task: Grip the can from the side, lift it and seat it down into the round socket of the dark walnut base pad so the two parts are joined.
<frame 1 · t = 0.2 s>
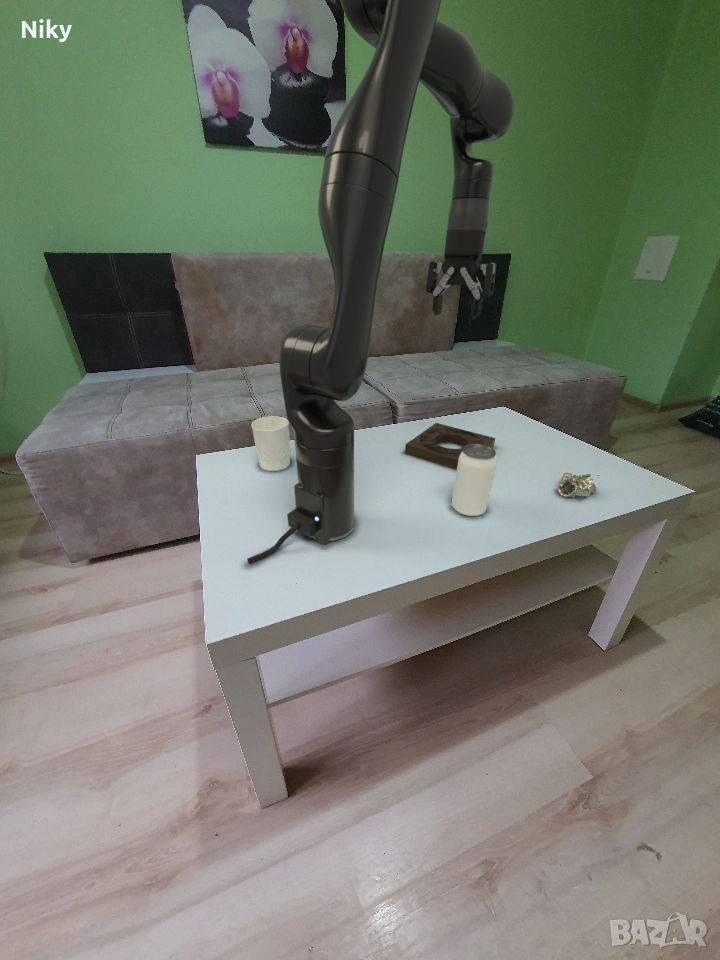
hand: (455, 316, 84), 29 cm above the table, tool pointing down, fingers open, 8 cm apart
can: (468, 508, 73), on the table
white cup: (275, 464, 87), on the table
ornament: (573, 492, 78), on the table
base pad: (449, 450, 94), on the table
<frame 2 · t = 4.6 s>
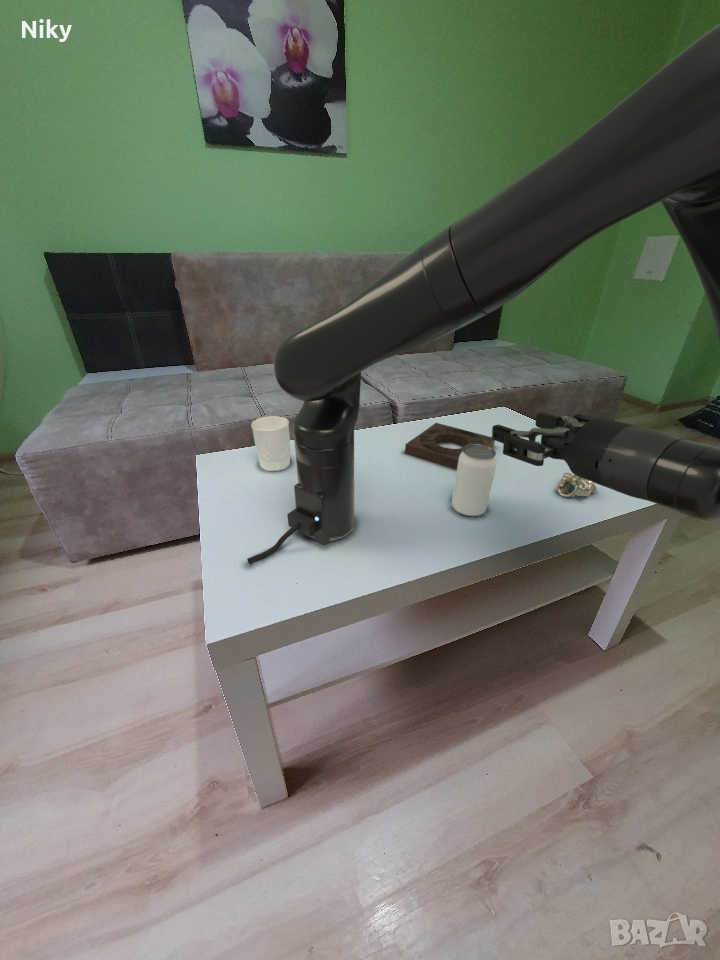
hand: (516, 425, 57), 20 cm above the table, tool horizontal, fingers open, 8 cm apart
nothing on the table moved.
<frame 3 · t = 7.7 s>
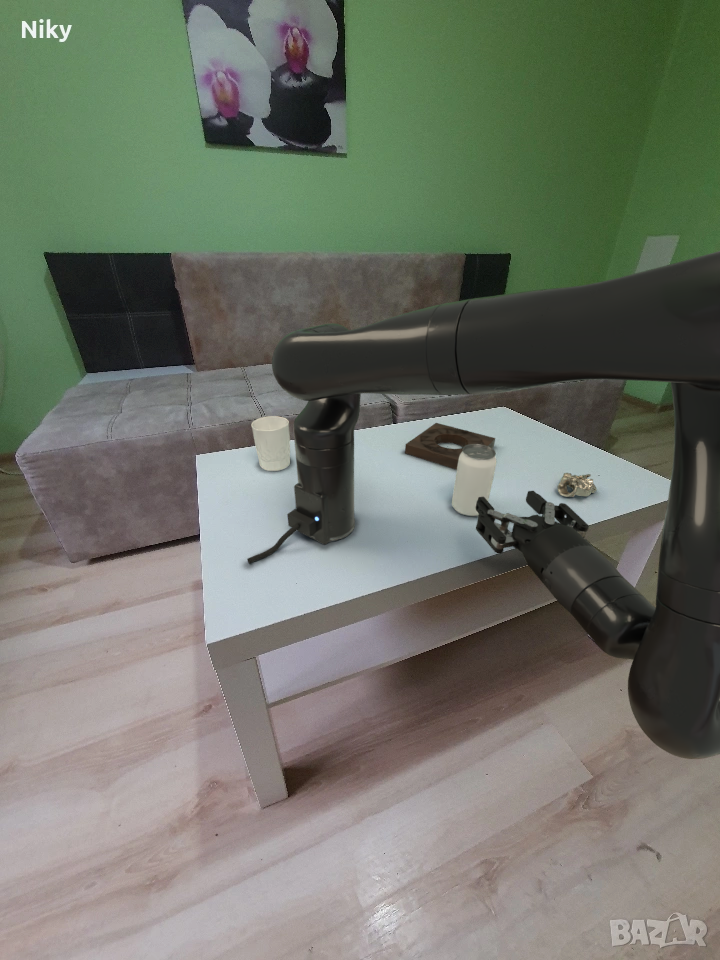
hand: (504, 498, 61), 8 cm above the table, tool horizontal, fingers open, 8 cm apart
nothing on the table moved.
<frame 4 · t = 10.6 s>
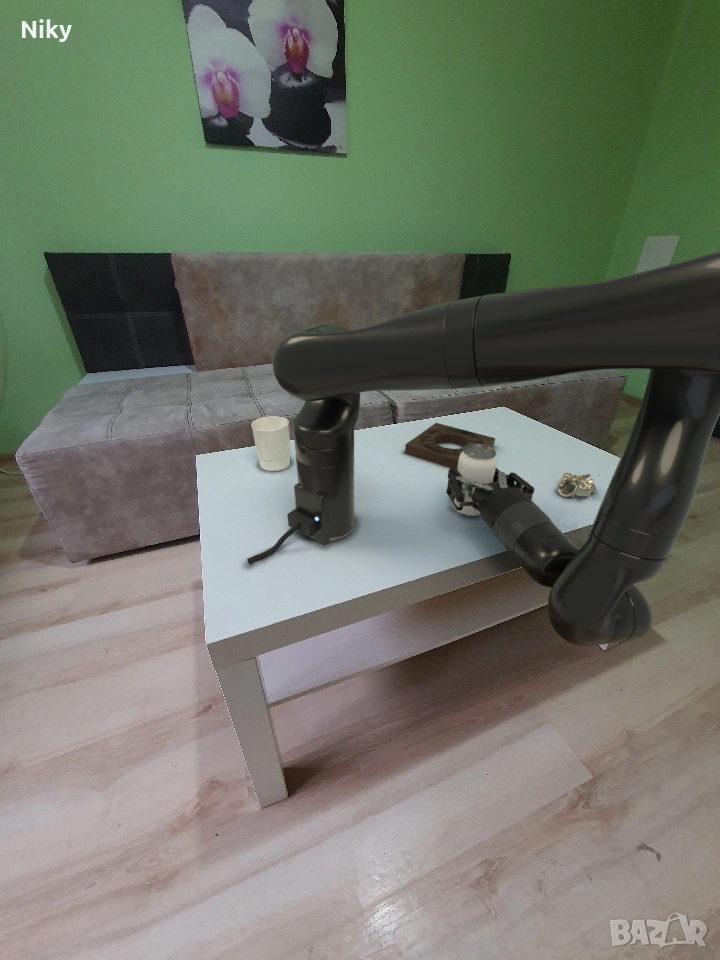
hand: (468, 469, 72), 7 cm above the table, tool horizontal, fingers closed on can, 6 cm apart
can: (468, 508, 73), on the table, touching gripper
everything else where it was.
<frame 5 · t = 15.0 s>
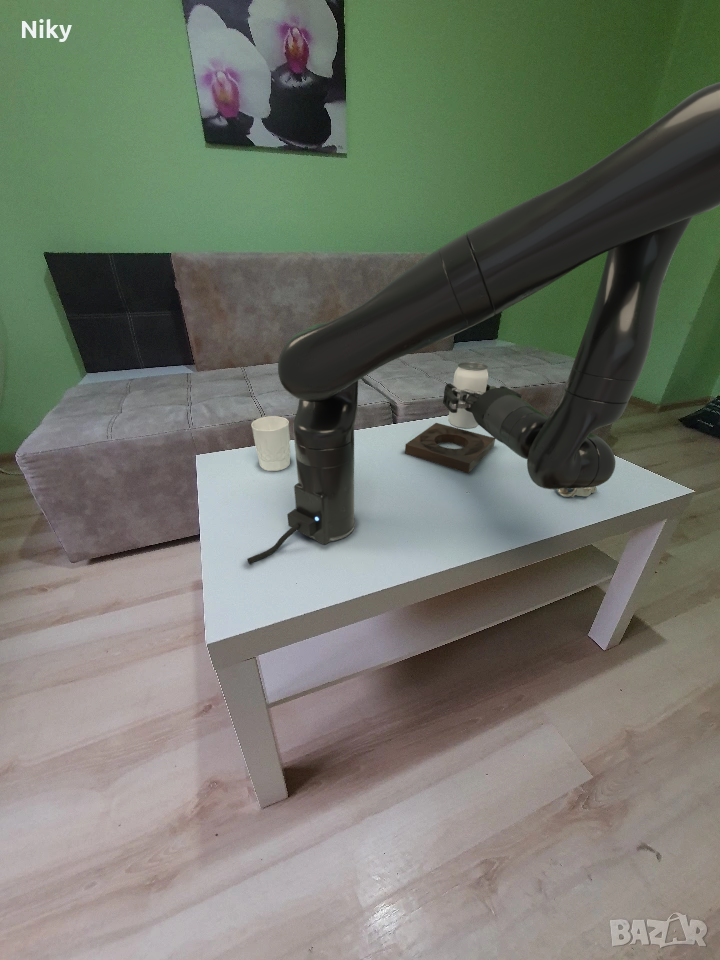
hand: (463, 387, 79), 18 cm above the table, tool horizontal, fingers closed on can, 6 cm apart
can: (463, 424, 81), point 10 cm above the table, touching gripper
everything else where it was.
when the fingers open (7 cm above the table, at t = 19.6 s): can stays where it is, resting in base pad.
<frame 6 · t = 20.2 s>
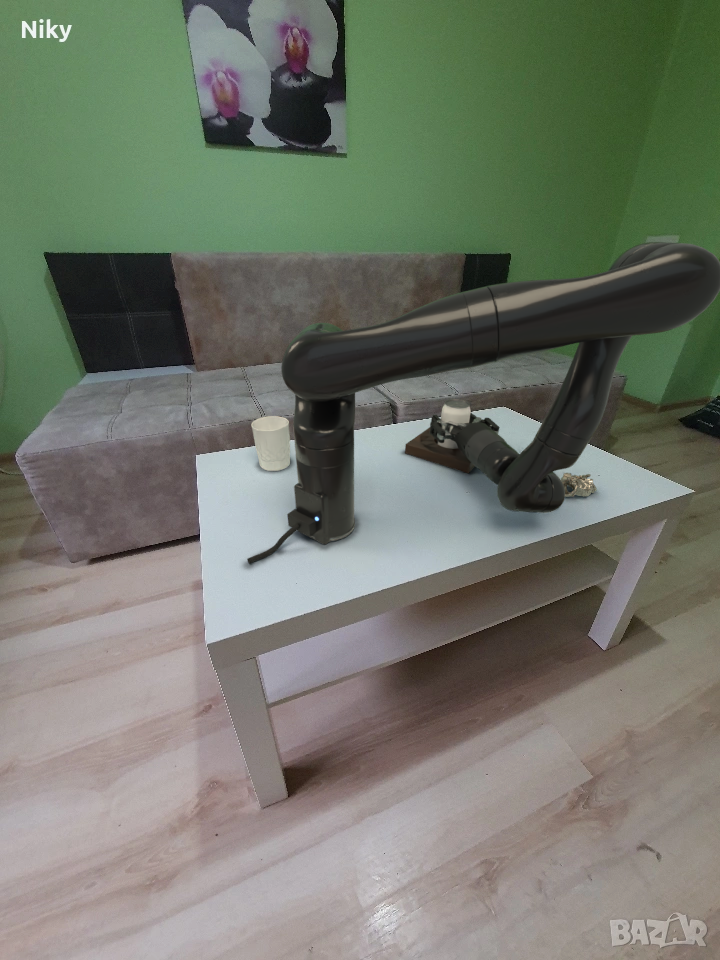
hand: (450, 417, 91), 8 cm above the table, tool horizontal, fingers open, 8 cm apart
can: (450, 451, 94), resting in base pad
everything else where it was.
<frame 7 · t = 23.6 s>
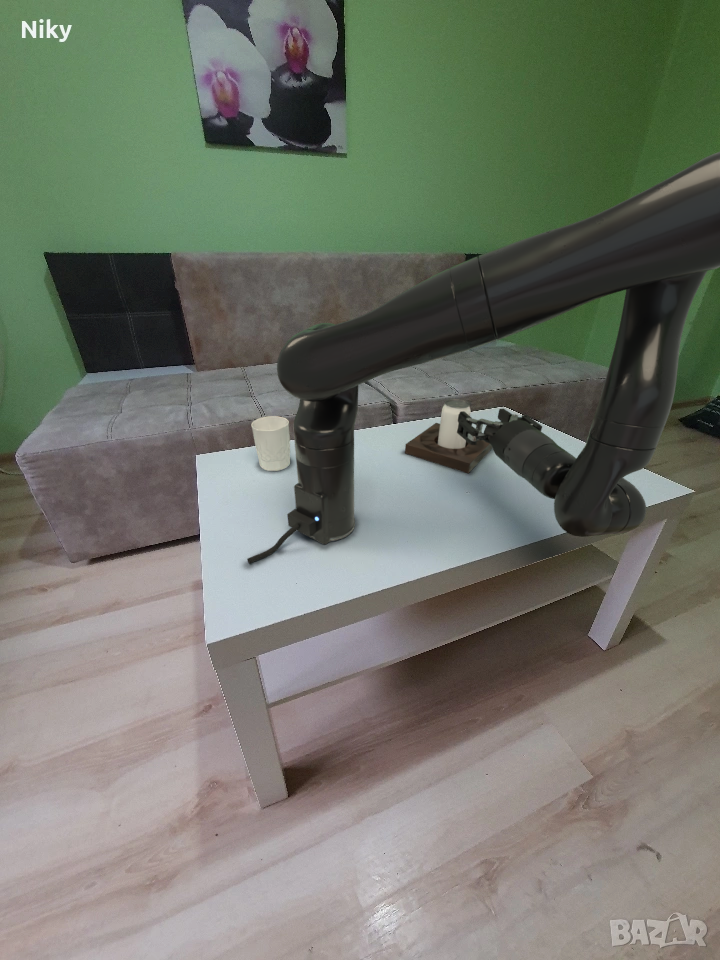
hand: (480, 414, 77), 14 cm above the table, tool horizontal, fingers open, 8 cm apart
nothing on the table moved.
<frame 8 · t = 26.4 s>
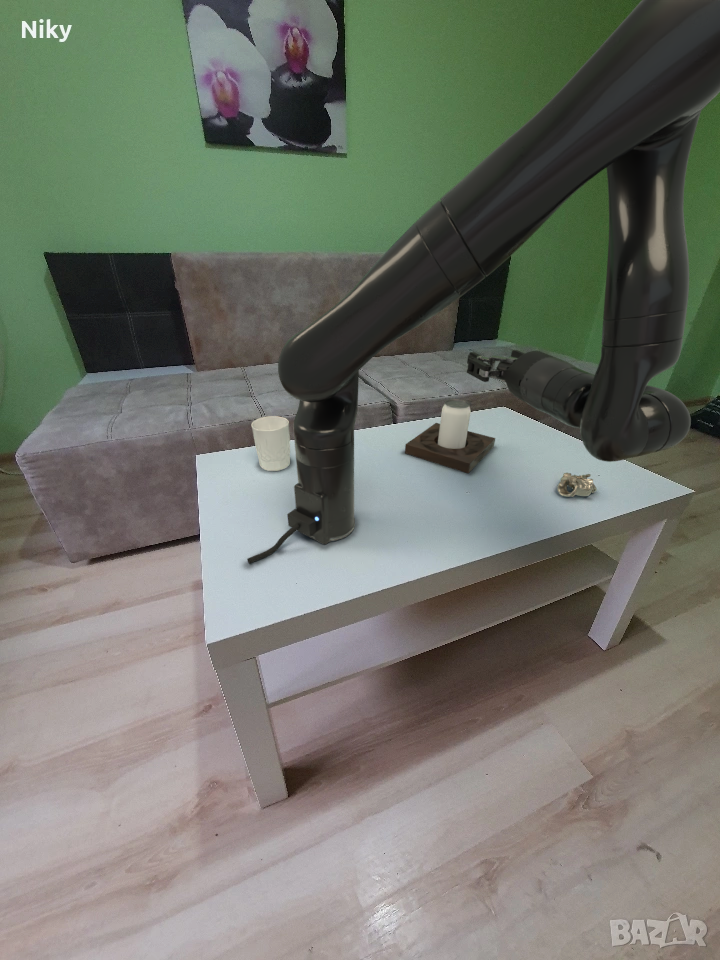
hand: (491, 356, 71), 25 cm above the table, tool horizontal, fingers open, 8 cm apart
nothing on the table moved.
at the end: can 0.1 cm off-centre in the base pad, point 0.0 cm above the base pad's base; can tilted 0°; the gripper is holding nothing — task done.
